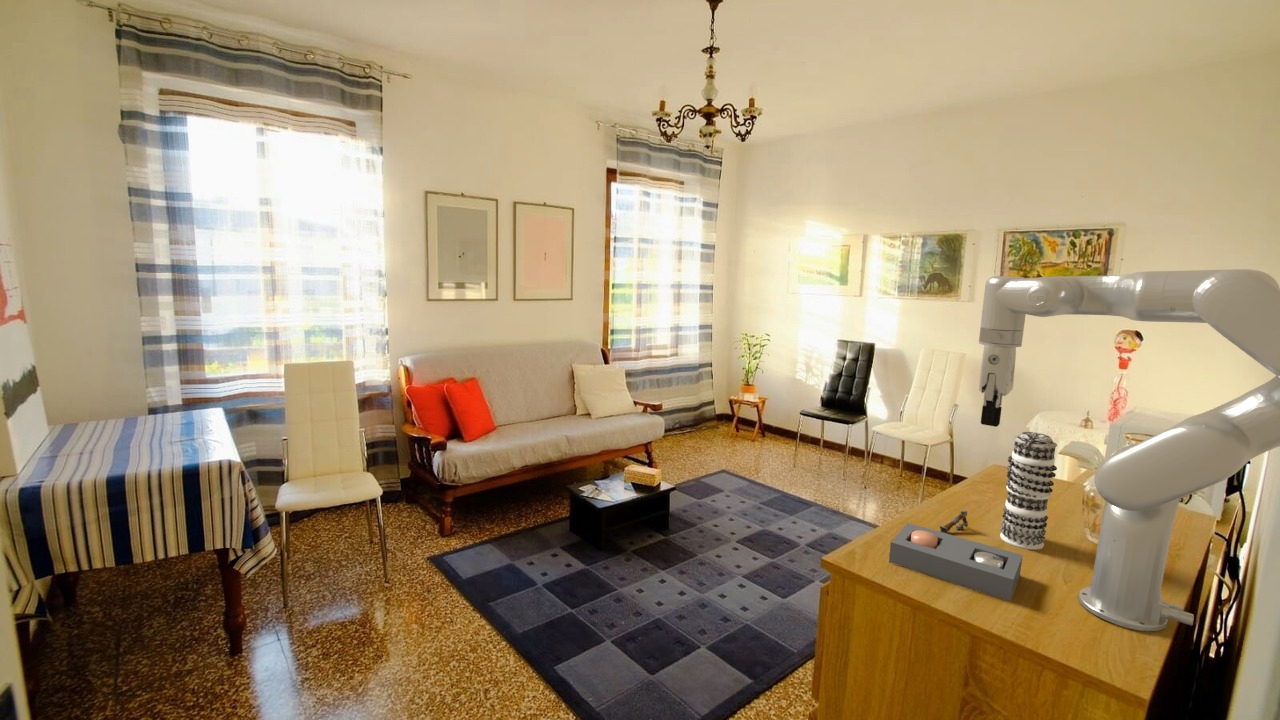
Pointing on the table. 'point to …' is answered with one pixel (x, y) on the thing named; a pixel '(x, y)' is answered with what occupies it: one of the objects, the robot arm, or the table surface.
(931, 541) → the terracotta plunger
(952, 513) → the table surface
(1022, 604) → the table surface
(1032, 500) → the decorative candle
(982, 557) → the cream short cylinder
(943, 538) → the button housing
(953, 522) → the wooden post with brackets
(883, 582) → the table surface
